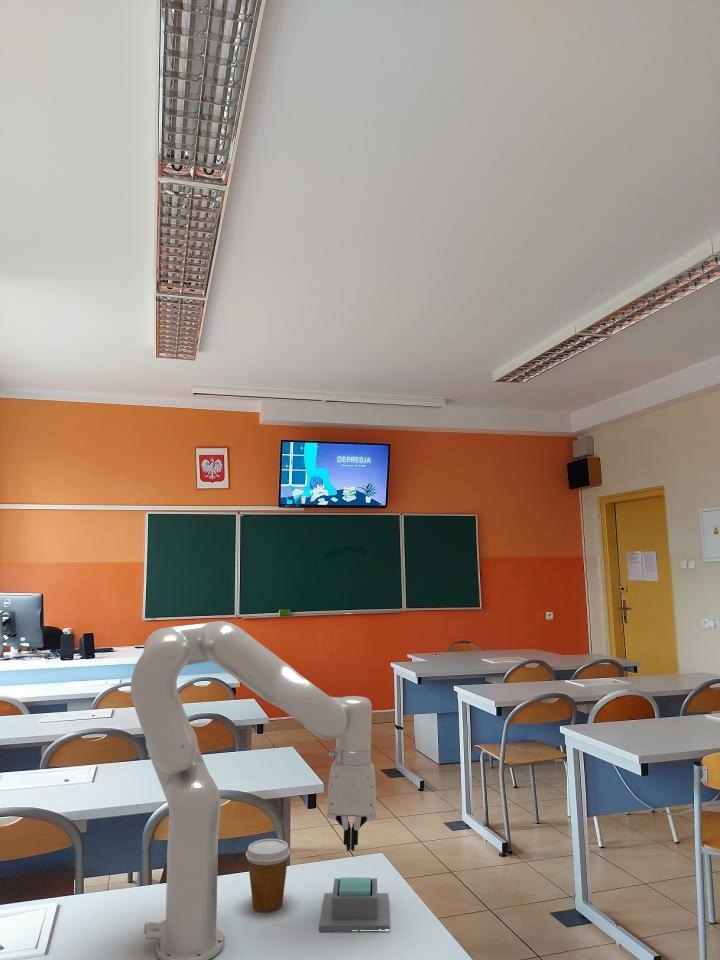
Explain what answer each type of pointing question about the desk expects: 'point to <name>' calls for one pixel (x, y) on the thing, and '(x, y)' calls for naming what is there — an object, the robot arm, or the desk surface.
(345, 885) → the button cap
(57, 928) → the desk surface
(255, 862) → the disposable coffee cup
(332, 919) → the button housing
